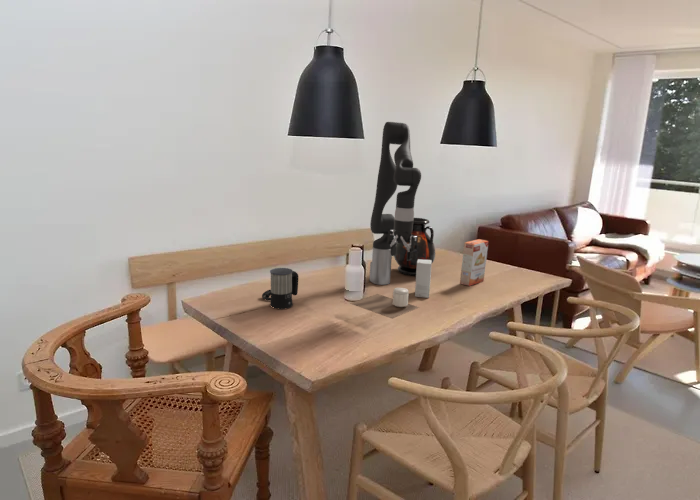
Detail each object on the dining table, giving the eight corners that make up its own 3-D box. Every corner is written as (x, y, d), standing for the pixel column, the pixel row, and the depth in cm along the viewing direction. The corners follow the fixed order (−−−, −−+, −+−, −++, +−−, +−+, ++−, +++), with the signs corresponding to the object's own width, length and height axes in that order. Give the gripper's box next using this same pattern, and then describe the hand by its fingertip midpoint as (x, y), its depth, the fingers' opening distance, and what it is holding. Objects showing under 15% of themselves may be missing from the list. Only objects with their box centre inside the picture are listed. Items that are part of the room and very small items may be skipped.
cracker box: (470, 286, 228) (474, 244, 223) (459, 283, 232) (463, 242, 227) (484, 281, 238) (489, 240, 233) (474, 278, 242) (478, 238, 237)
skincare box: (428, 298, 209) (431, 264, 206) (413, 296, 210) (416, 262, 207) (429, 292, 217) (432, 259, 214) (415, 291, 218) (417, 258, 215)
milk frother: (286, 311, 188) (287, 275, 184) (250, 305, 192) (250, 270, 189) (300, 300, 201) (301, 266, 197) (267, 295, 205) (267, 261, 202)
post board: (349, 306, 195) (350, 289, 193) (377, 297, 208) (378, 280, 206) (392, 322, 181) (393, 303, 179) (419, 310, 194) (420, 293, 192)
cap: (393, 306, 190) (394, 292, 189) (392, 301, 196) (392, 287, 195) (408, 306, 190) (409, 292, 189) (406, 301, 196) (407, 287, 195)
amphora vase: (385, 273, 245) (388, 219, 239) (403, 264, 263) (406, 214, 257) (423, 280, 235) (428, 225, 228) (440, 271, 252) (444, 219, 246)
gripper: (424, 220, 185) (420, 260, 189) (397, 214, 195) (394, 252, 199) (411, 222, 180) (407, 263, 184) (384, 216, 190) (381, 255, 194)
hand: (400, 258), depth 192 cm, fingers open, 8 cm apart
